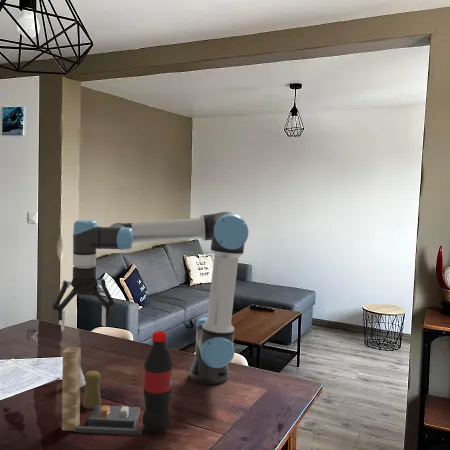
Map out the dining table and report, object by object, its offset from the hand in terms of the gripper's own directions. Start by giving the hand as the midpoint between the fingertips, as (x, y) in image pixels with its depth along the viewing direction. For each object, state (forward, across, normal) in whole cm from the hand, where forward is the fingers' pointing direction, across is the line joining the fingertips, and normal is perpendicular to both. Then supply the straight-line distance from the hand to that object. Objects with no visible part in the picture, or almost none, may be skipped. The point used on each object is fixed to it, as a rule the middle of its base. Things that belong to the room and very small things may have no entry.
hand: (83, 327), depth 162 cm
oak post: (+24, +7, +20) cm, 32 cm away
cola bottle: (+24, -17, +31) cm, 42 cm away
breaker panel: (+24, -6, +21) cm, 33 cm away
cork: (+24, -2, +8) cm, 25 cm away
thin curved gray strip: (+24, -3, +28) cm, 37 cm away
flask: (+24, +1, -9) cm, 26 cm away
